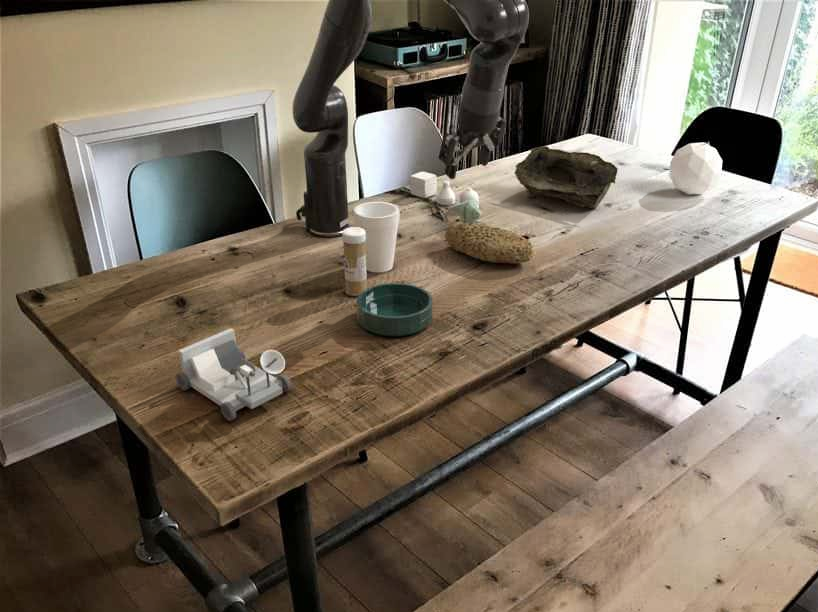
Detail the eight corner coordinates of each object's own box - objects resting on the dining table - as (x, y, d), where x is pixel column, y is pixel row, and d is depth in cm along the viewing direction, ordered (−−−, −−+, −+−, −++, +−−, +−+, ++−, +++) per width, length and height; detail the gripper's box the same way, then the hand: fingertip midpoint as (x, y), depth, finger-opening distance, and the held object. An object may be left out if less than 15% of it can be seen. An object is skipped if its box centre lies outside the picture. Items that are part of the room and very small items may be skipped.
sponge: (439, 255, 180) (495, 269, 165) (440, 220, 178) (497, 231, 163) (484, 252, 188) (541, 265, 173) (486, 219, 186) (543, 229, 171)
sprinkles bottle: (340, 292, 160) (337, 230, 153) (356, 285, 163) (354, 224, 157) (356, 299, 158) (353, 237, 151) (372, 292, 161) (370, 230, 154)
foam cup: (406, 261, 174) (406, 205, 167) (389, 278, 166) (388, 220, 160) (367, 254, 177) (365, 199, 170) (349, 271, 169) (346, 213, 162)
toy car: (298, 347, 123) (235, 377, 115) (303, 399, 128) (243, 431, 120) (229, 309, 132) (167, 334, 125) (236, 359, 137) (177, 386, 130)
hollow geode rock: (610, 230, 205) (636, 181, 206) (596, 208, 194) (624, 156, 195) (522, 201, 219) (547, 155, 221) (505, 178, 208) (531, 130, 210)
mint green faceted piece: (450, 225, 193) (451, 199, 189) (459, 220, 196) (460, 194, 192) (477, 233, 189) (478, 206, 185) (486, 228, 192) (488, 201, 188)
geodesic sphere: (685, 156, 226) (680, 123, 215) (734, 166, 219) (731, 132, 208) (663, 198, 223) (657, 166, 211) (712, 209, 216) (708, 177, 204)
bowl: (345, 330, 147) (343, 309, 145) (376, 298, 159) (376, 278, 156) (415, 345, 143) (415, 323, 141) (442, 310, 155) (443, 290, 153)
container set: (410, 195, 210) (409, 175, 207) (422, 190, 213) (422, 170, 211) (470, 213, 200) (471, 192, 197) (482, 207, 203) (483, 187, 201)
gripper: (496, 80, 150) (481, 148, 163) (438, 100, 143) (427, 170, 156) (522, 101, 147) (504, 170, 160) (464, 123, 140) (450, 192, 153)
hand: (466, 170), depth 158 cm, fingers open, 8 cm apart
